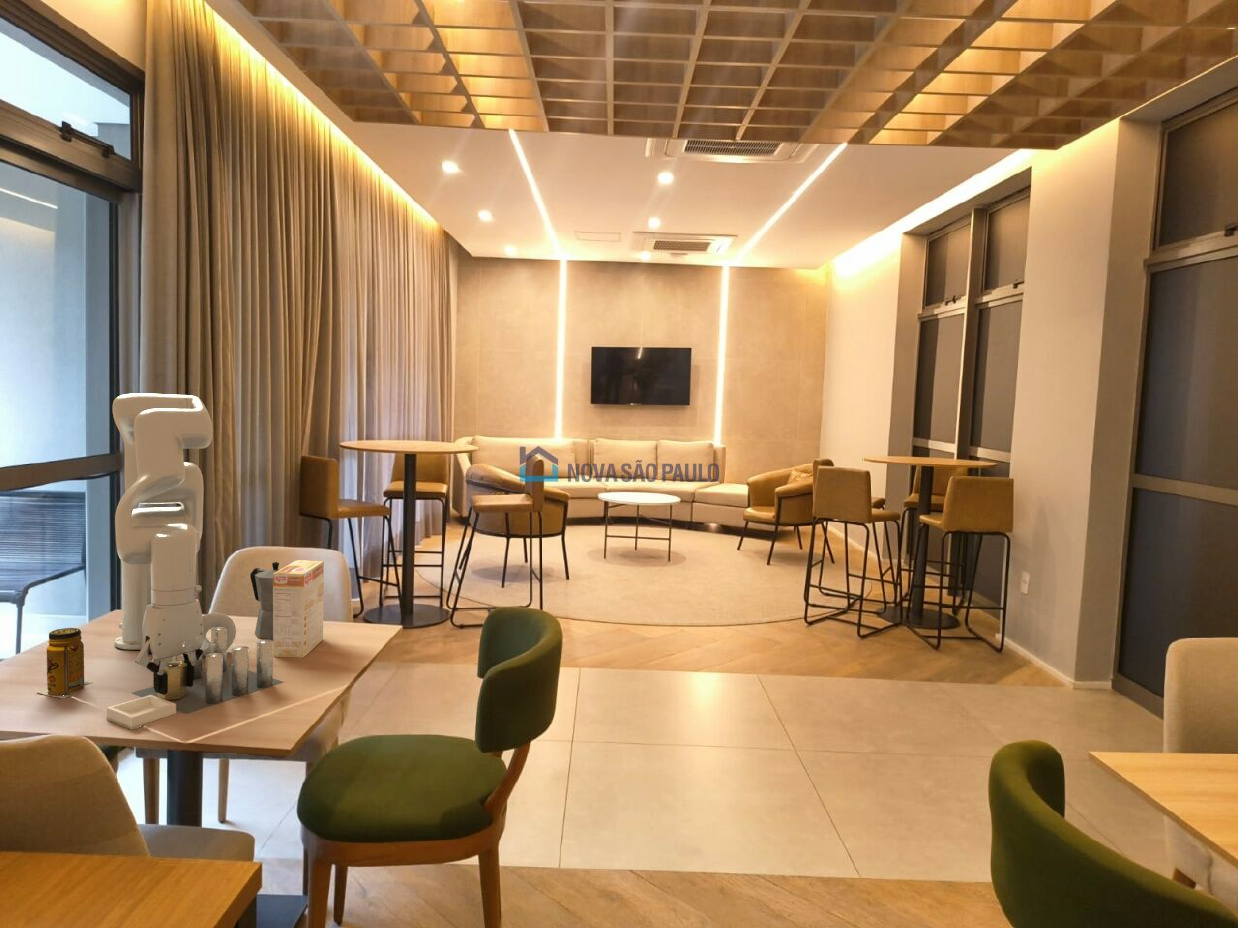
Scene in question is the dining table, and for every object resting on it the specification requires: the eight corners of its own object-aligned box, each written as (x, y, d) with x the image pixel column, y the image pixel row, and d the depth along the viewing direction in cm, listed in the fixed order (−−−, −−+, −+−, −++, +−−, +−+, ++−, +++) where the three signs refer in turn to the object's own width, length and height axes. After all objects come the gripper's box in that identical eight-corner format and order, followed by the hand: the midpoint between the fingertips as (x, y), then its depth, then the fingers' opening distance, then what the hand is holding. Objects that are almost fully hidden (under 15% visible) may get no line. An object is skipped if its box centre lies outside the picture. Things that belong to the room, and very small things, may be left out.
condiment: (36, 693, 159) (35, 632, 158) (79, 679, 167) (78, 622, 166) (62, 699, 156) (61, 638, 155) (104, 685, 164) (103, 627, 163)
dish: (106, 719, 148) (106, 707, 148) (151, 705, 155) (150, 694, 154) (131, 729, 144) (131, 717, 144) (176, 715, 151) (176, 703, 150)
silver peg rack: (156, 685, 164) (156, 641, 163) (221, 667, 176) (221, 626, 175) (211, 705, 155) (211, 658, 154) (275, 684, 167) (276, 641, 166)
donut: (192, 662, 179) (192, 618, 178) (186, 659, 182) (186, 614, 181) (238, 653, 187) (238, 610, 186) (232, 650, 189) (232, 607, 188)
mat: (131, 694, 160) (131, 692, 160) (229, 666, 178) (229, 664, 178) (186, 715, 151) (186, 713, 151) (284, 683, 169) (284, 681, 169)
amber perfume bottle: (168, 701, 155) (169, 671, 154) (153, 695, 158) (153, 664, 157) (190, 695, 159) (191, 664, 158) (175, 688, 161) (175, 658, 161)
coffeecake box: (295, 638, 199) (295, 559, 198) (324, 639, 200) (325, 560, 198) (271, 658, 184) (271, 572, 183) (303, 659, 185) (303, 573, 183)
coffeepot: (309, 634, 203) (309, 562, 202) (277, 643, 195) (277, 568, 194) (267, 623, 211) (267, 554, 209) (234, 632, 202) (234, 560, 201)
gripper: (203, 584, 165) (203, 672, 167) (117, 601, 151) (118, 697, 152) (226, 590, 161) (226, 680, 163) (140, 608, 147) (141, 707, 149)
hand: (174, 687), depth 158 cm, fingers closed on amber perfume bottle, 4 cm apart
